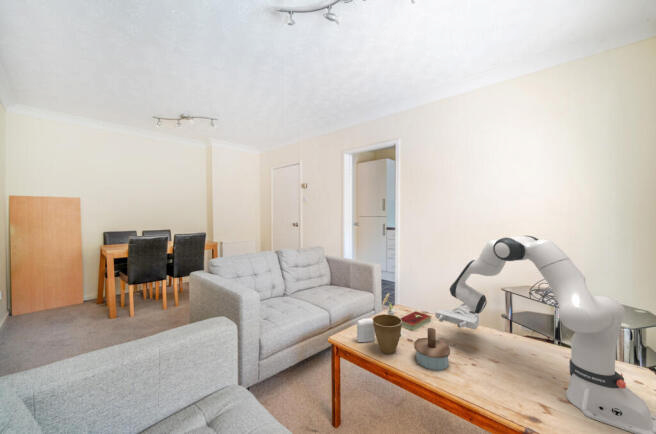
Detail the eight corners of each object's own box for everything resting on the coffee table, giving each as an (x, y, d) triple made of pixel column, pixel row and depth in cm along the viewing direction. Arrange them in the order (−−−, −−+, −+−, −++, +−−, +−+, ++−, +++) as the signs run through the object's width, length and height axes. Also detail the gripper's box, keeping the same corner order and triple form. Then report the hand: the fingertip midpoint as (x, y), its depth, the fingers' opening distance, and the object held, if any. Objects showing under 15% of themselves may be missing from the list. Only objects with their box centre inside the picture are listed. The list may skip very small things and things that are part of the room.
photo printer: (373, 337, 144) (372, 316, 144) (376, 341, 140) (375, 319, 140) (356, 340, 142) (355, 318, 142) (358, 343, 138) (358, 321, 137)
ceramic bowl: (453, 361, 119) (453, 349, 119) (439, 374, 111) (438, 360, 110) (425, 349, 130) (425, 338, 130) (410, 360, 121) (410, 348, 121)
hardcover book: (396, 325, 160) (396, 319, 160) (415, 316, 173) (415, 310, 173) (413, 332, 150) (413, 325, 150) (431, 322, 164) (431, 315, 163)
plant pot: (386, 340, 141) (385, 311, 141) (408, 351, 129) (407, 320, 129) (367, 348, 132) (366, 318, 132) (389, 362, 120) (388, 329, 120)
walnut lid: (454, 347, 121) (454, 328, 121) (444, 362, 109) (444, 341, 109) (421, 337, 132) (420, 319, 131) (408, 350, 119) (408, 331, 119)
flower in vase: (386, 327, 156) (385, 287, 155) (404, 332, 149) (403, 291, 149) (377, 336, 145) (376, 293, 145) (396, 342, 139) (395, 297, 138)
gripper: (442, 304, 144) (429, 311, 135) (481, 314, 128) (470, 322, 119) (442, 315, 144) (430, 322, 135) (481, 327, 128) (471, 335, 119)
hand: (449, 322), depth 127 cm, fingers open, 8 cm apart
